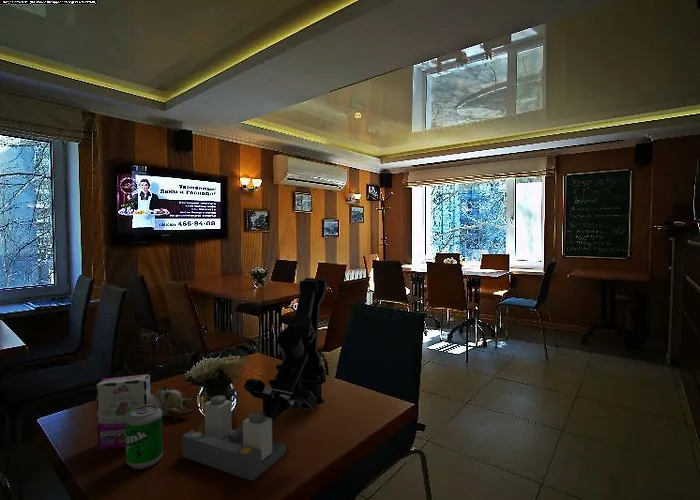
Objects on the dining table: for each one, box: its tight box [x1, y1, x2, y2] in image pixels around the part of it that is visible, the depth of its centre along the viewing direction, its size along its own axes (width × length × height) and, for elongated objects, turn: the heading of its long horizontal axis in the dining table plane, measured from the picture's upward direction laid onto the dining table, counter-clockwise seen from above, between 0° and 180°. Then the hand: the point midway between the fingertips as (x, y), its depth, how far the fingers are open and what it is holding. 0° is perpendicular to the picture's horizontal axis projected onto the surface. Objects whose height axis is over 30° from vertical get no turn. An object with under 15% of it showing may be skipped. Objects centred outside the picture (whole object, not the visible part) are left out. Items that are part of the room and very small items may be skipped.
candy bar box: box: [95, 373, 152, 452], centre depth 99 cm, size 11×5×16 cm, turn 105°
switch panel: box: [181, 425, 287, 482], centre depth 93 cm, size 12×21×5 cm, turn 64°
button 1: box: [204, 395, 233, 439], centre depth 99 cm, size 4×5×9 cm
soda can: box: [125, 405, 164, 470], centre depth 91 cm, size 8×8×12 cm
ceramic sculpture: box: [151, 386, 196, 418], centre depth 114 cm, size 11×9×15 cm
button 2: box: [242, 411, 273, 460], centre depth 89 cm, size 4×5×9 cm
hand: (264, 428), depth 91 cm, fingers closed, pressing on button 2
